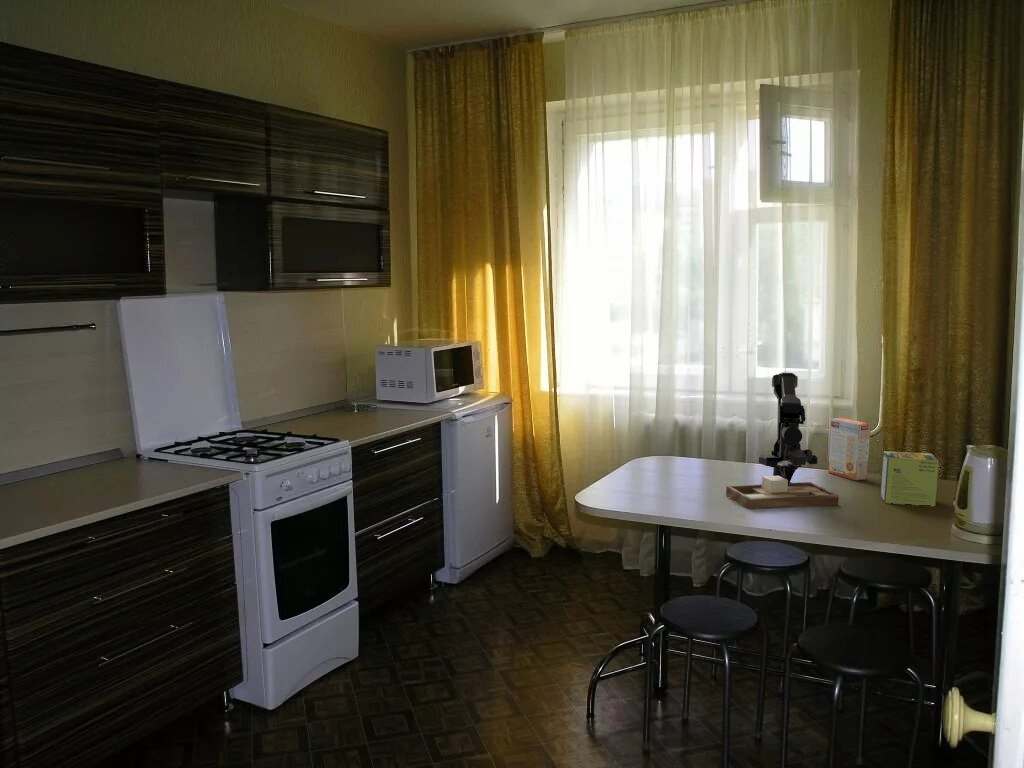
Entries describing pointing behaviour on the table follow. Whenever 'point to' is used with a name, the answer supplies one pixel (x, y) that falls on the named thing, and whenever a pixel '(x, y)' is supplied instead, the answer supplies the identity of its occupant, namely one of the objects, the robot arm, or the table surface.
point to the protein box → (909, 478)
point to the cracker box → (849, 448)
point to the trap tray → (782, 496)
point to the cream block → (774, 484)
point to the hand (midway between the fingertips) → (786, 484)
